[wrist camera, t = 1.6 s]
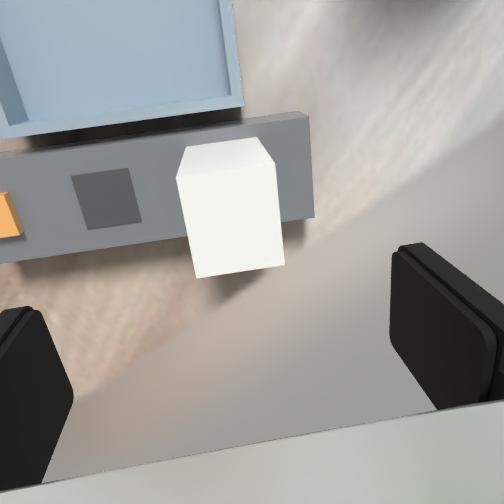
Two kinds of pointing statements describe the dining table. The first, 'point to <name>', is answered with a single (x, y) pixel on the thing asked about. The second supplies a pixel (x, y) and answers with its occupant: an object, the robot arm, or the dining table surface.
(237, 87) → the tray
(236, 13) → the dining table surface
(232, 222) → the block
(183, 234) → the strip
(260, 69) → the dining table surface
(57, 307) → the dining table surface
